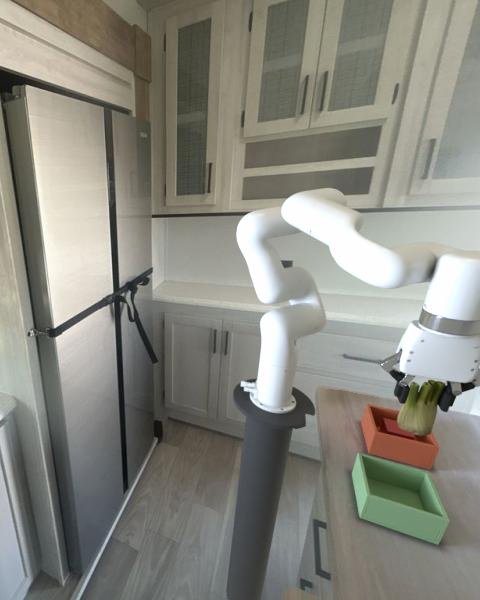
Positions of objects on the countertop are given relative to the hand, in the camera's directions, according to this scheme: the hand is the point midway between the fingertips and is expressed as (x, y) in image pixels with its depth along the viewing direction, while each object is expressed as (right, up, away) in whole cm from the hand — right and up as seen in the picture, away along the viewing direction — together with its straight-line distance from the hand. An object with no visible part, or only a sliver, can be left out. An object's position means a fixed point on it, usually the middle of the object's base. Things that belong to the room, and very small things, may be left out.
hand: (420, 402), depth 65 cm
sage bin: (-1, -24, +5) cm, 24 cm away
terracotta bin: (+12, -17, +19) cm, 28 cm away
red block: (+12, -16, +18) cm, 27 cm away
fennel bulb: (+1, -7, +3) cm, 7 cm away
